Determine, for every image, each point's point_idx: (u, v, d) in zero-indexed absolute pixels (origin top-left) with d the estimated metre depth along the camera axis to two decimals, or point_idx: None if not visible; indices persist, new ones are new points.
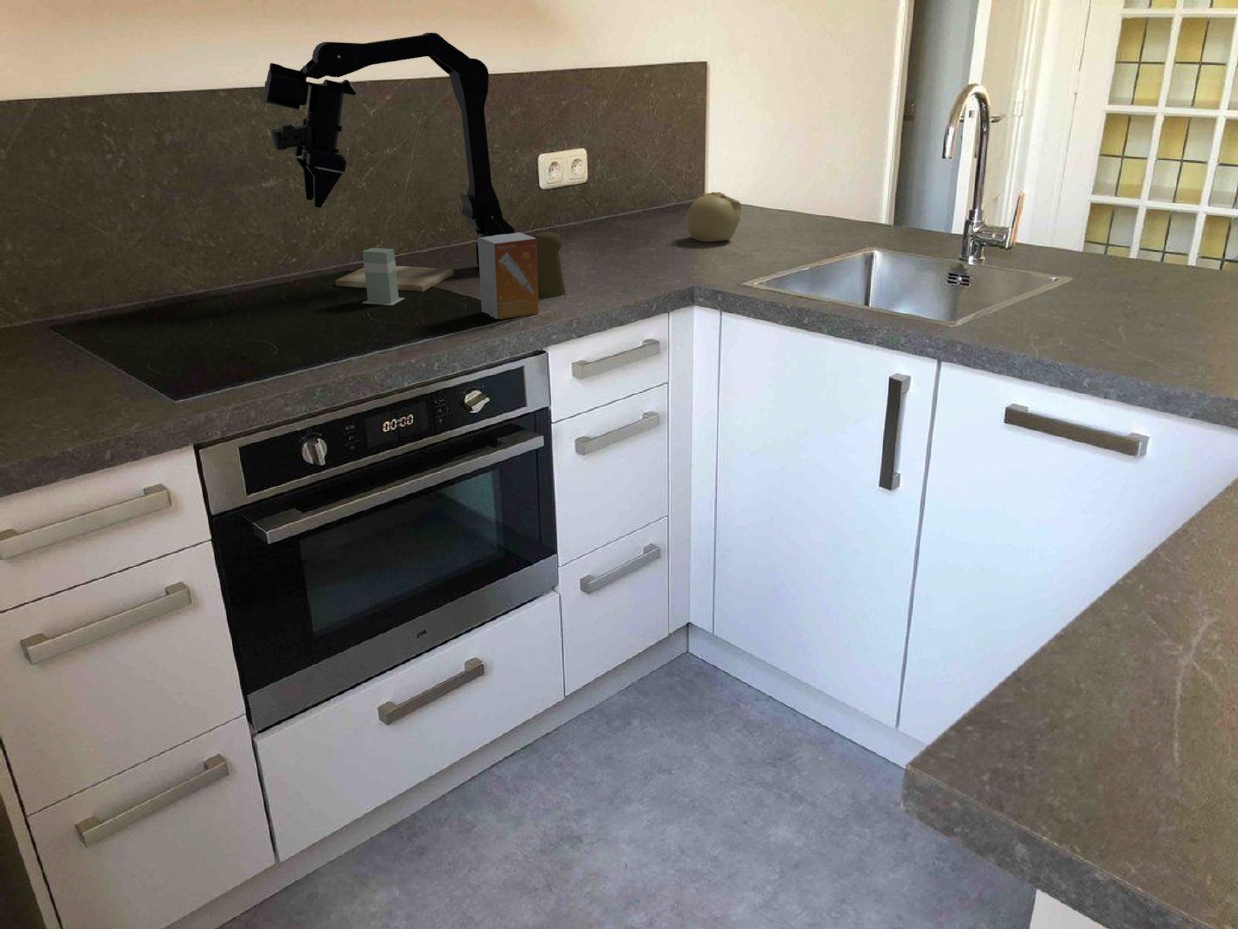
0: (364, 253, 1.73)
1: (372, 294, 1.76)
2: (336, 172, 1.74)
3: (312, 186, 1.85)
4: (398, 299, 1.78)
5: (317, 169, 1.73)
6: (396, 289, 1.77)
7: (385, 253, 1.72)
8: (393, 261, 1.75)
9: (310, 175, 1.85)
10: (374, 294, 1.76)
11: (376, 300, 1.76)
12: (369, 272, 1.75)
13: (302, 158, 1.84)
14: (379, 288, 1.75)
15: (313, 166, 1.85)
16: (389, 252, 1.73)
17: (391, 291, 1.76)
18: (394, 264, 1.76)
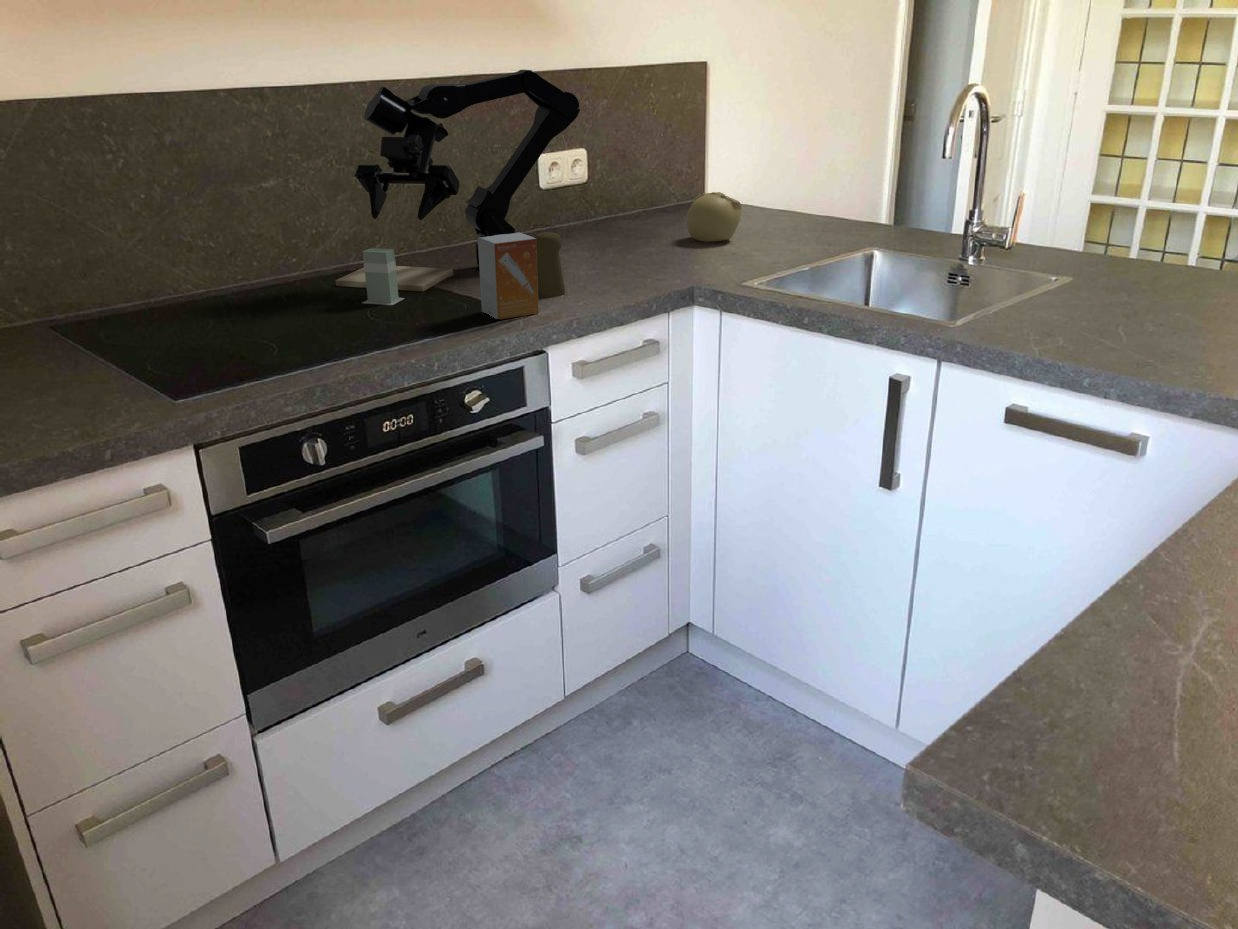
0: (364, 253, 1.73)
1: (372, 294, 1.76)
2: (448, 192, 1.81)
3: (378, 206, 1.82)
4: (398, 299, 1.78)
5: (442, 182, 1.78)
6: (396, 289, 1.77)
7: (385, 253, 1.72)
8: (393, 261, 1.75)
9: (378, 196, 1.82)
10: (374, 294, 1.76)
11: (376, 300, 1.76)
12: (369, 272, 1.75)
13: None
14: (379, 288, 1.75)
15: (380, 189, 1.83)
16: (389, 252, 1.73)
17: (391, 291, 1.76)
18: (394, 264, 1.76)
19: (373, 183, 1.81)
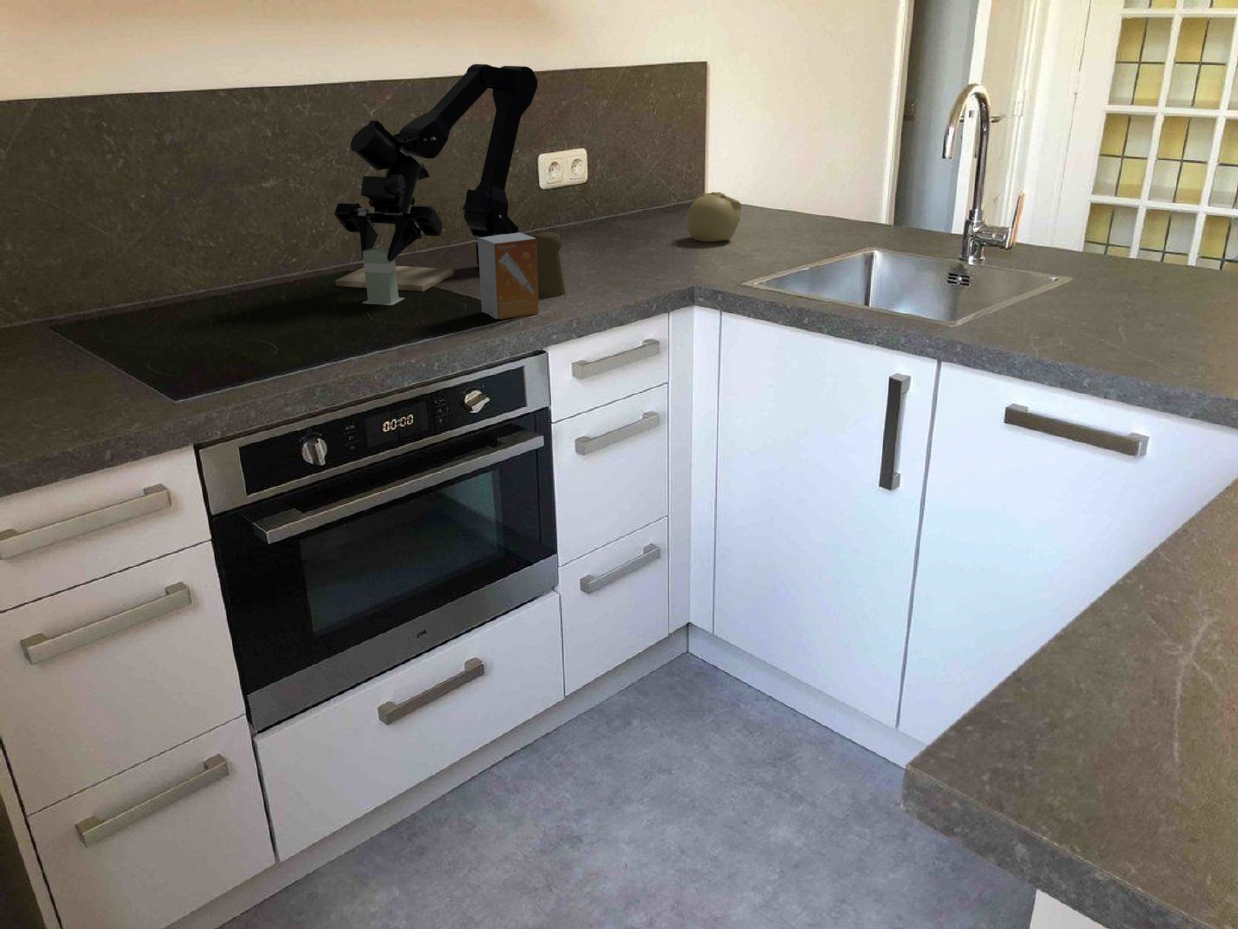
0: (364, 253, 1.73)
1: (372, 294, 1.76)
2: (420, 233, 1.76)
3: (368, 247, 1.76)
4: (398, 299, 1.78)
5: (413, 223, 1.73)
6: (396, 289, 1.77)
7: (385, 253, 1.72)
8: (393, 261, 1.75)
9: (368, 236, 1.76)
10: (374, 294, 1.76)
11: (376, 300, 1.76)
12: (369, 271, 1.75)
13: None
14: (379, 288, 1.75)
15: (371, 229, 1.77)
16: None
17: (391, 291, 1.76)
18: (394, 264, 1.76)
19: (364, 223, 1.75)
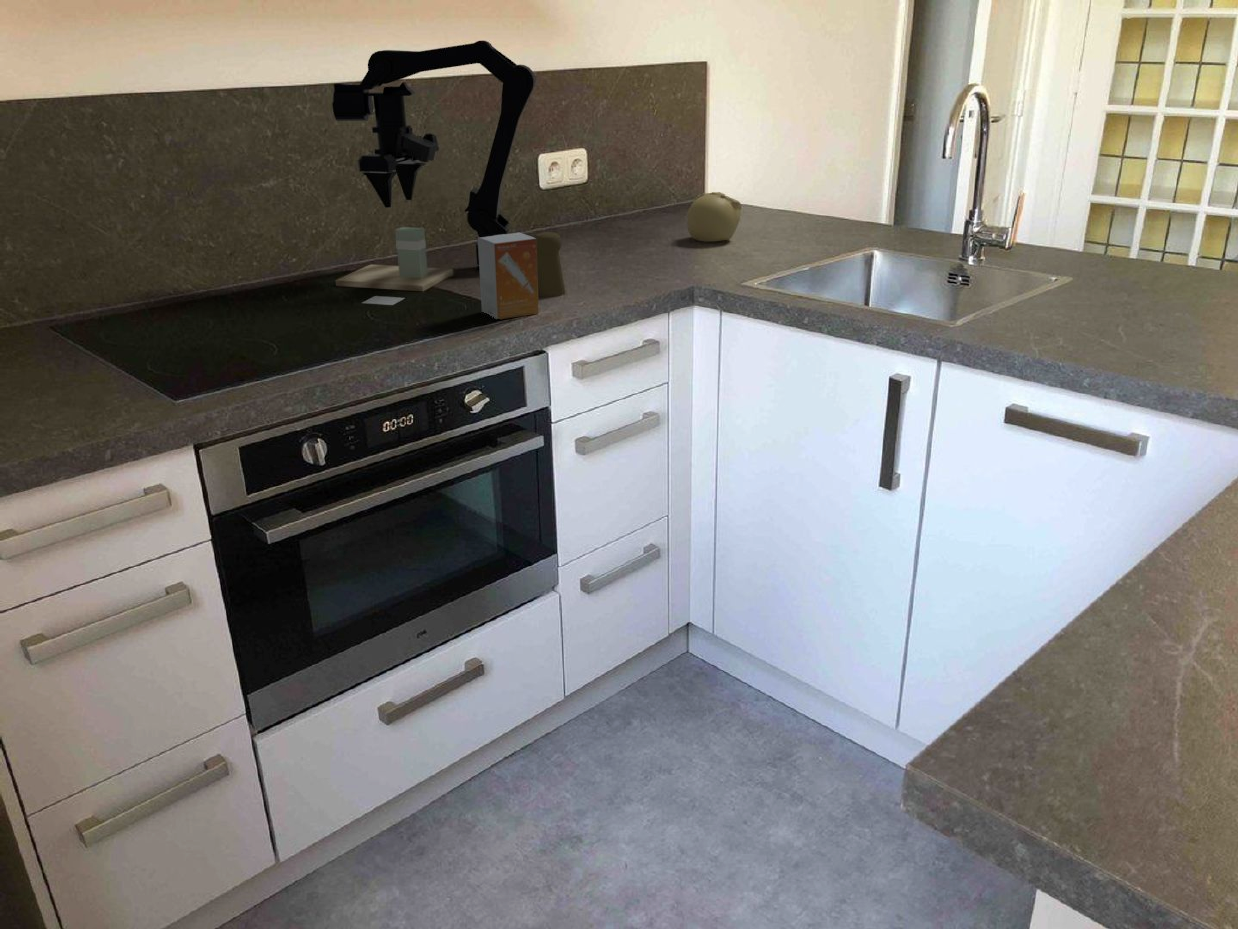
0: (396, 231, 1.86)
1: (403, 270, 1.89)
2: None
3: None
4: (398, 299, 1.78)
5: (419, 163, 2.00)
6: (426, 265, 1.90)
7: (416, 231, 1.85)
8: (423, 239, 1.88)
9: None
10: (406, 270, 1.89)
11: (407, 276, 1.89)
12: (401, 249, 1.87)
13: None
14: (410, 264, 1.88)
15: None
16: (420, 230, 1.86)
17: (422, 267, 1.89)
18: (424, 242, 1.88)
19: (393, 176, 1.89)
